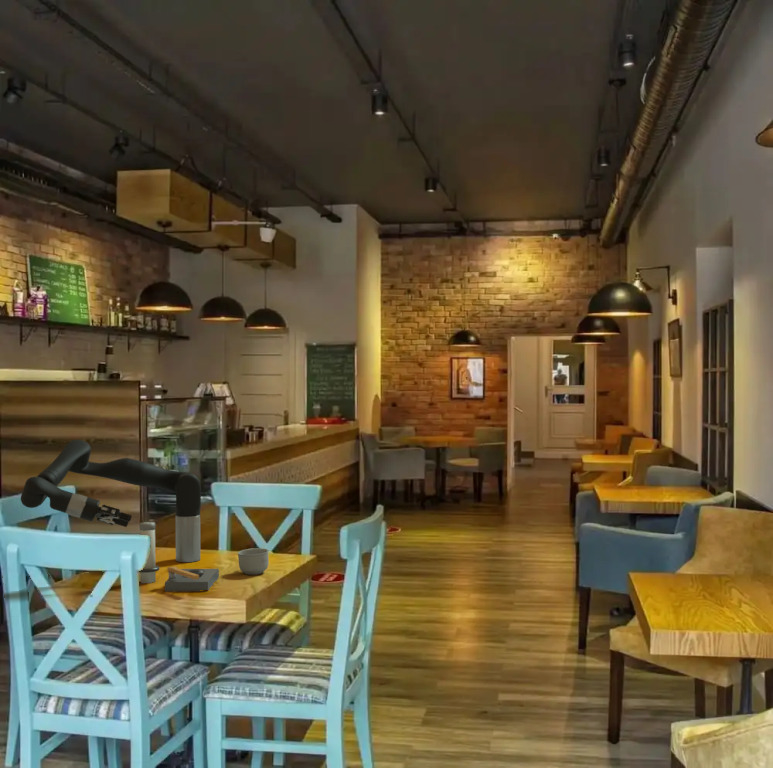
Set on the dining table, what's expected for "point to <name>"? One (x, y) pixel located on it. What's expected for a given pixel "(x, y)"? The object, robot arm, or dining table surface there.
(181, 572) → the clip
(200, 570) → the grey flat block
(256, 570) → the teacup
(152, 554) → the grey tall cylinder
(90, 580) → the dining table surface
